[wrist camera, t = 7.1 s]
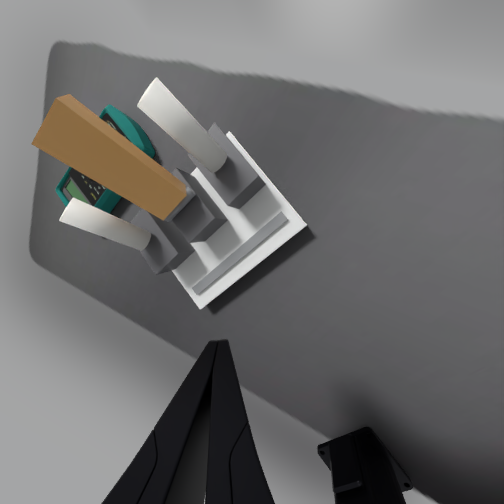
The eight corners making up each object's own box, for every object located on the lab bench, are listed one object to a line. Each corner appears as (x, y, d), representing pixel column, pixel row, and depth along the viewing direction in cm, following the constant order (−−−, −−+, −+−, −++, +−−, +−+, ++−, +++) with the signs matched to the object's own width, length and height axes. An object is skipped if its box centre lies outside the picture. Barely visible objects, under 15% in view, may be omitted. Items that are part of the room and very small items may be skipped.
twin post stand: (307, 225, 19) (305, 219, 9) (206, 304, 24) (130, 360, 13) (230, 132, 20) (154, 37, 10) (148, 224, 25) (37, 220, 15)
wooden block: (196, 199, 16) (57, 94, 10) (170, 227, 17) (30, 146, 11) (194, 189, 18) (71, 91, 12) (170, 215, 19) (45, 137, 13)
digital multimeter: (162, 151, 24) (142, 140, 21) (101, 231, 28) (78, 231, 25) (128, 110, 24) (105, 94, 22) (74, 194, 29) (48, 190, 26)
